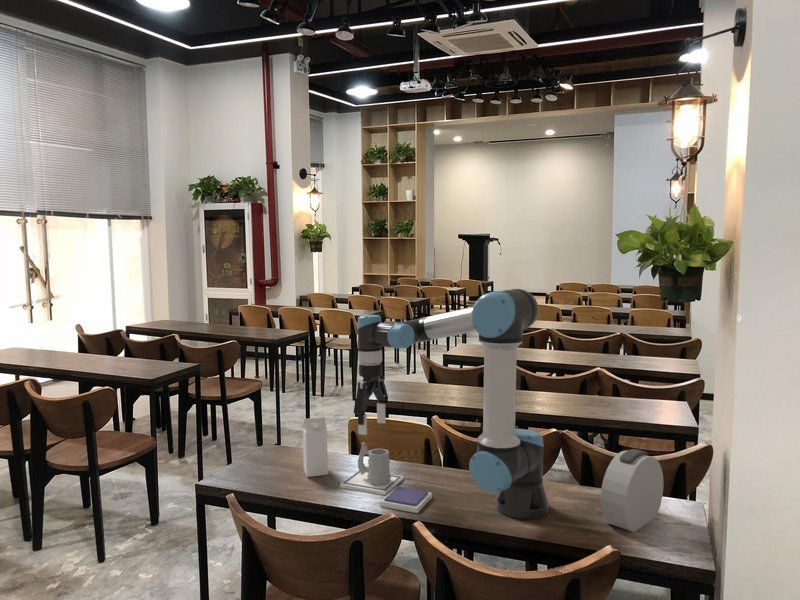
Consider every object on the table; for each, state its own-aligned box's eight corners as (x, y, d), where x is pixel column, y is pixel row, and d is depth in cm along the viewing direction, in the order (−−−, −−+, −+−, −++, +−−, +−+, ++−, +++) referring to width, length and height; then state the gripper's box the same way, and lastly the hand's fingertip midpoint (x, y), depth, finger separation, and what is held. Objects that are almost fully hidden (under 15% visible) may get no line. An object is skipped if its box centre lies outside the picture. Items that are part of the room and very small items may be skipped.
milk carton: (303, 470, 211) (302, 416, 209) (324, 467, 213) (323, 414, 211) (306, 477, 204) (305, 422, 203) (327, 475, 206) (326, 420, 205)
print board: (403, 479, 202) (403, 475, 202) (385, 495, 189) (385, 491, 189) (360, 472, 209) (360, 468, 208) (340, 487, 196) (339, 483, 196)
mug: (383, 487, 193) (383, 450, 192) (352, 481, 198) (351, 445, 197) (395, 479, 199) (395, 443, 198) (364, 473, 205) (364, 438, 204)
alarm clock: (638, 505, 181) (639, 439, 179) (662, 513, 175) (665, 446, 173) (599, 527, 167) (601, 456, 165) (625, 537, 161) (627, 464, 159)
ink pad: (432, 497, 187) (432, 490, 187) (417, 513, 176) (417, 506, 176) (396, 491, 192) (396, 484, 192) (379, 506, 181) (379, 499, 181)
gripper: (377, 356, 208) (378, 417, 210) (341, 369, 186) (343, 438, 187) (397, 357, 205) (398, 419, 207) (363, 371, 183) (365, 440, 184)
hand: (372, 428), depth 197 cm, fingers open, 13 cm apart
